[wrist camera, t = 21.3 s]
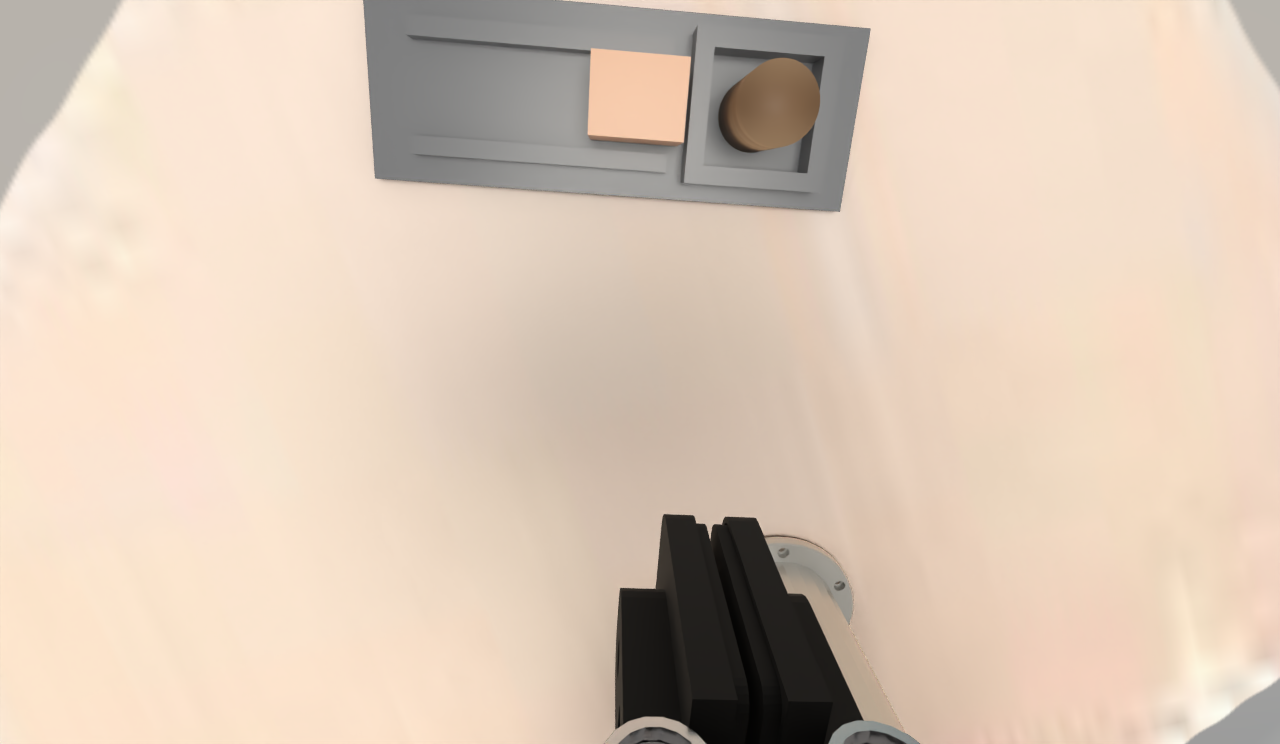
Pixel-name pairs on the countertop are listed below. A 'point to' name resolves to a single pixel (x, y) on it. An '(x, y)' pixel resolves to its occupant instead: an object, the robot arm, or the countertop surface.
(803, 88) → the brown round pin
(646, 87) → the cardboard brown cuboid
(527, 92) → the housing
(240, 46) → the countertop surface
